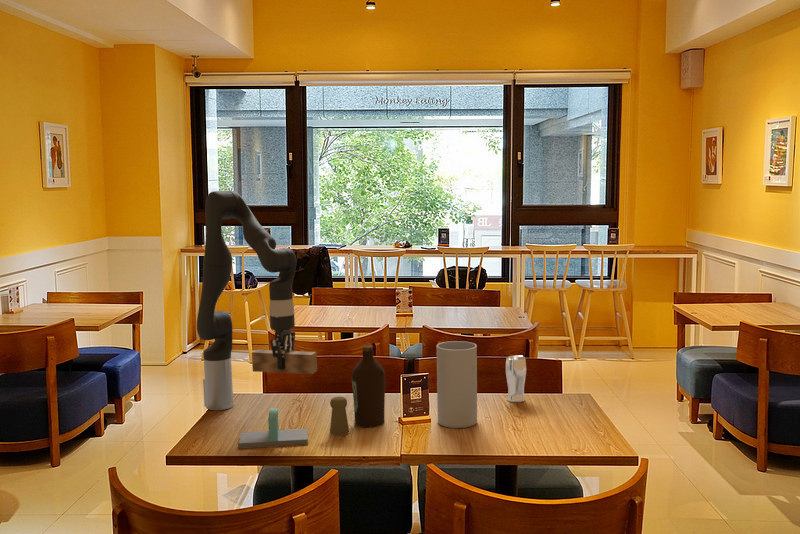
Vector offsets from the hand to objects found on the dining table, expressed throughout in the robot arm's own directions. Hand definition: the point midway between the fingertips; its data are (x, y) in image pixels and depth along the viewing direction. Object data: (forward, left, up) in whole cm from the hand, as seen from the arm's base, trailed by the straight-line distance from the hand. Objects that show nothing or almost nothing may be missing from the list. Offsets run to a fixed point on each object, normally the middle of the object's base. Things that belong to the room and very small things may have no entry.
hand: (284, 367), depth 245 cm
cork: (+16, +7, -20) cm, 26 cm away
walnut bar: (0, 0, -1) cm, 1 cm away
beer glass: (+44, +67, -20) cm, 83 cm away
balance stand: (+5, -10, -20) cm, 22 cm away
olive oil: (+18, +19, -20) cm, 33 cm away
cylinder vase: (+41, +35, -20) cm, 57 cm away
